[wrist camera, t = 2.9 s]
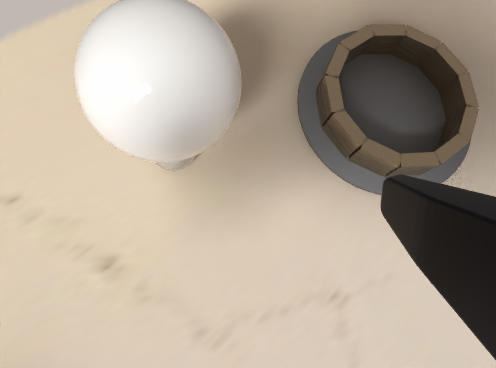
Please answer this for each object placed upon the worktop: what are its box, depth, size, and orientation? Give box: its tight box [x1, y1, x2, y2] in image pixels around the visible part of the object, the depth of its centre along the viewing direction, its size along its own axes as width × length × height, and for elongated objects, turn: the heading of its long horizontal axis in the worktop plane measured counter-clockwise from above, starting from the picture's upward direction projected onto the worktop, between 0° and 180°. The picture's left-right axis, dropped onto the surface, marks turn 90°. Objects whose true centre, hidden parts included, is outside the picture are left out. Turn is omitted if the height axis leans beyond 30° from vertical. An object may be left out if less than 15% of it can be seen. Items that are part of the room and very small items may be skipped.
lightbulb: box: [74, 0, 242, 170], centre depth 17 cm, size 6×6×11 cm
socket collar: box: [315, 25, 479, 177], centre depth 24 cm, size 10×10×2 cm
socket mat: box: [298, 31, 471, 195], centre depth 25 cm, size 12×12×1 cm
